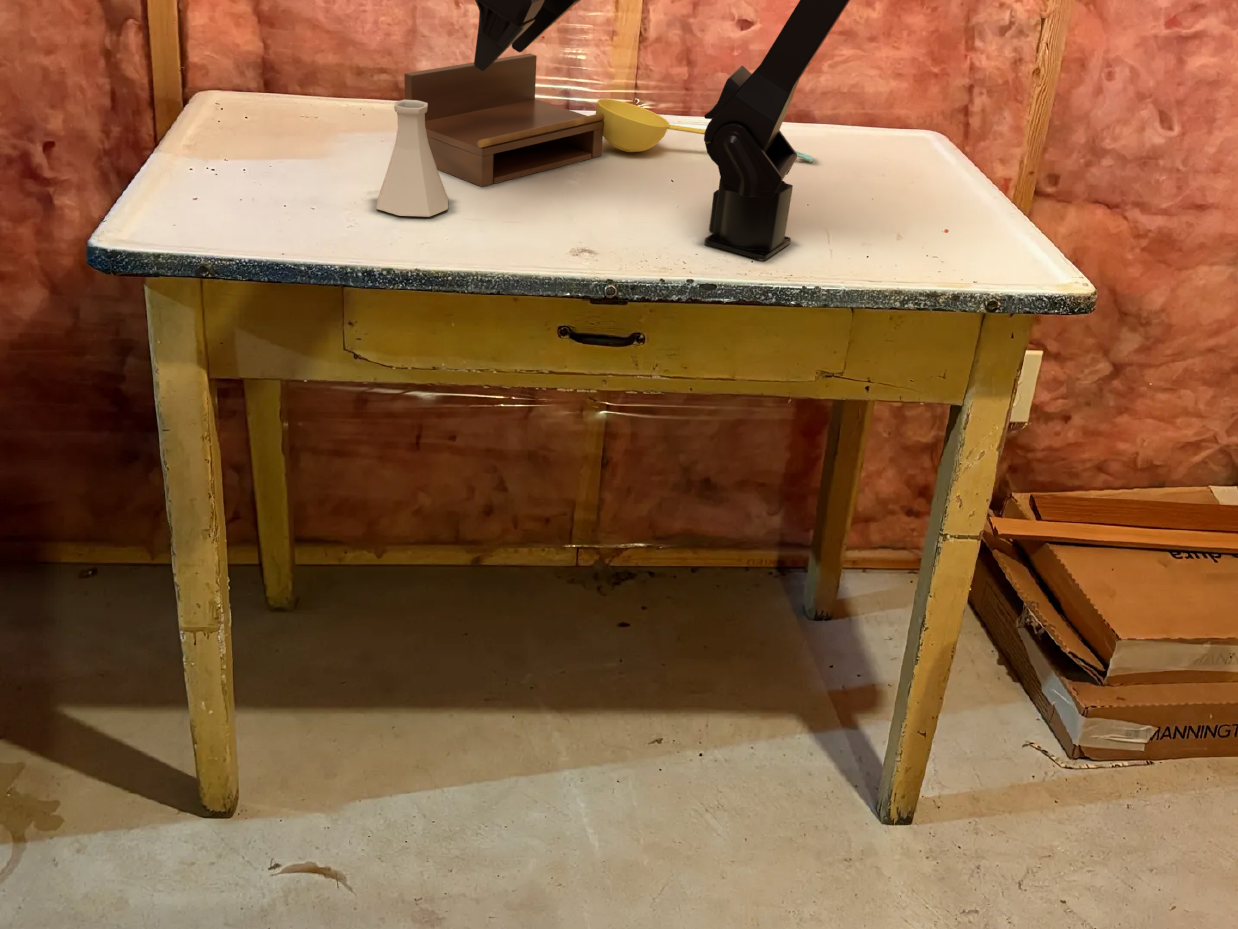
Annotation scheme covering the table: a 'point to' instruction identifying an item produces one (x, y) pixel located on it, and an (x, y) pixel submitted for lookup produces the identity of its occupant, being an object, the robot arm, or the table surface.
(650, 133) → the ladle
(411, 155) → the flask
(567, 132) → the spice rack
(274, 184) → the table surface
